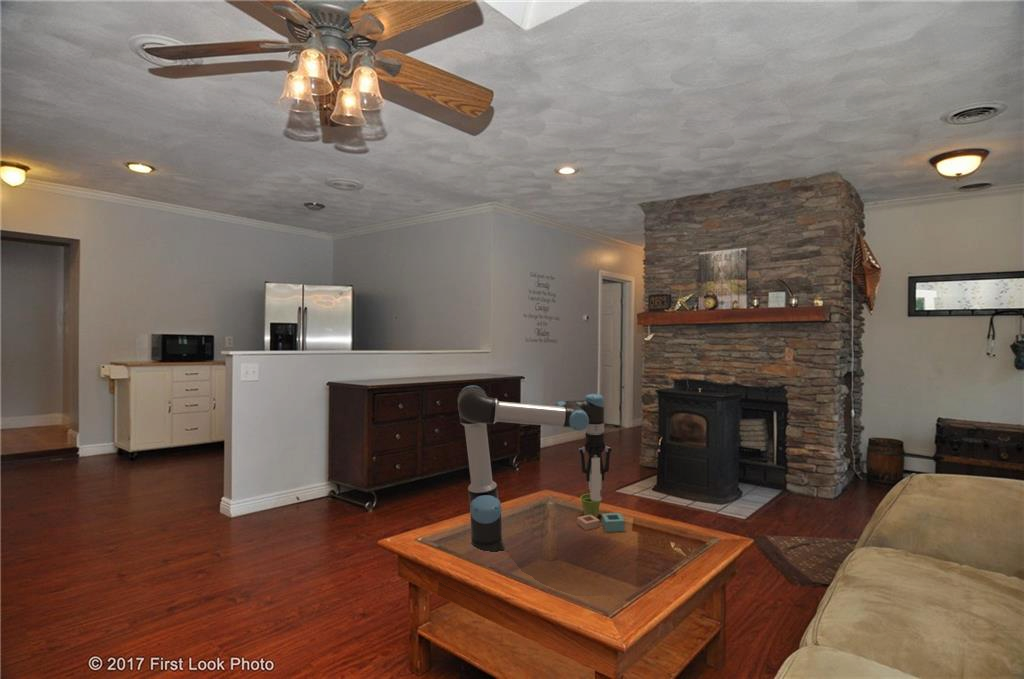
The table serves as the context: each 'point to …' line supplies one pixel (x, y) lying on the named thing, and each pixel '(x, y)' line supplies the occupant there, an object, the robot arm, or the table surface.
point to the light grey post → (595, 478)
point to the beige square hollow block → (588, 522)
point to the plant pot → (590, 505)
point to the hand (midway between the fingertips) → (595, 488)
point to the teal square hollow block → (613, 522)
